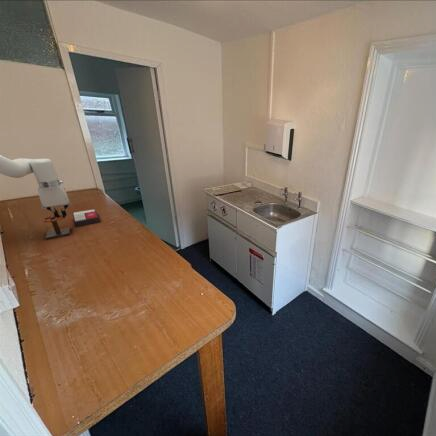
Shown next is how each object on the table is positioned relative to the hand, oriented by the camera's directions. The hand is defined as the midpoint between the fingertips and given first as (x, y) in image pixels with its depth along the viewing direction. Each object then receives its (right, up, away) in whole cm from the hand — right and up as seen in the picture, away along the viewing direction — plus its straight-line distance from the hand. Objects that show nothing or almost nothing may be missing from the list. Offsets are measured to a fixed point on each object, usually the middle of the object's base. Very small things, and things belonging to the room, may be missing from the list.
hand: (61, 217), depth 123 cm
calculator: (-3, -2, +18) cm, 19 cm away
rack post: (-3, -9, +1) cm, 10 cm away
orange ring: (-2, -1, -2) cm, 3 cm away
